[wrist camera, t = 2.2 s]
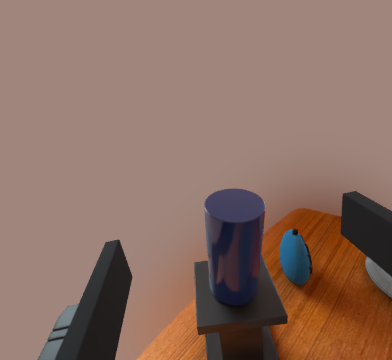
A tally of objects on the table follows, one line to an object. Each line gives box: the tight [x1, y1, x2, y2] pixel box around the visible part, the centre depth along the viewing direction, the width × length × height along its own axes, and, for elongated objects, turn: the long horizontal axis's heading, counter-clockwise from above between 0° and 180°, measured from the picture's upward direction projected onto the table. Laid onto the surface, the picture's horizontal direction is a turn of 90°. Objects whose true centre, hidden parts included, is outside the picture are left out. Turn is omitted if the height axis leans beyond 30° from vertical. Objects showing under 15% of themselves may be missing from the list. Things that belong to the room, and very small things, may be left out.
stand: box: [194, 255, 288, 360], centre depth 30 cm, size 9×9×12 cm
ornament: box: [279, 229, 312, 285], centre depth 40 cm, size 8×5×10 cm, turn 177°
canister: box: [204, 189, 265, 306], centre depth 25 cm, size 6×6×11 cm
